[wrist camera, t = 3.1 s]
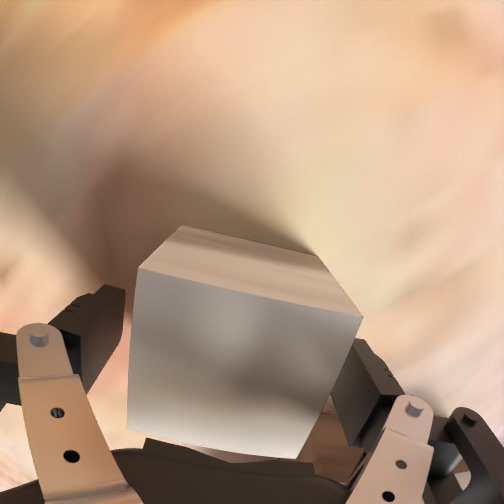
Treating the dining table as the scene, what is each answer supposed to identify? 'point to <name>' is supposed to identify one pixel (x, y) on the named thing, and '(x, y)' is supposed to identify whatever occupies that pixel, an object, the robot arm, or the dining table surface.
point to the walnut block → (344, 452)
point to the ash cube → (235, 343)
